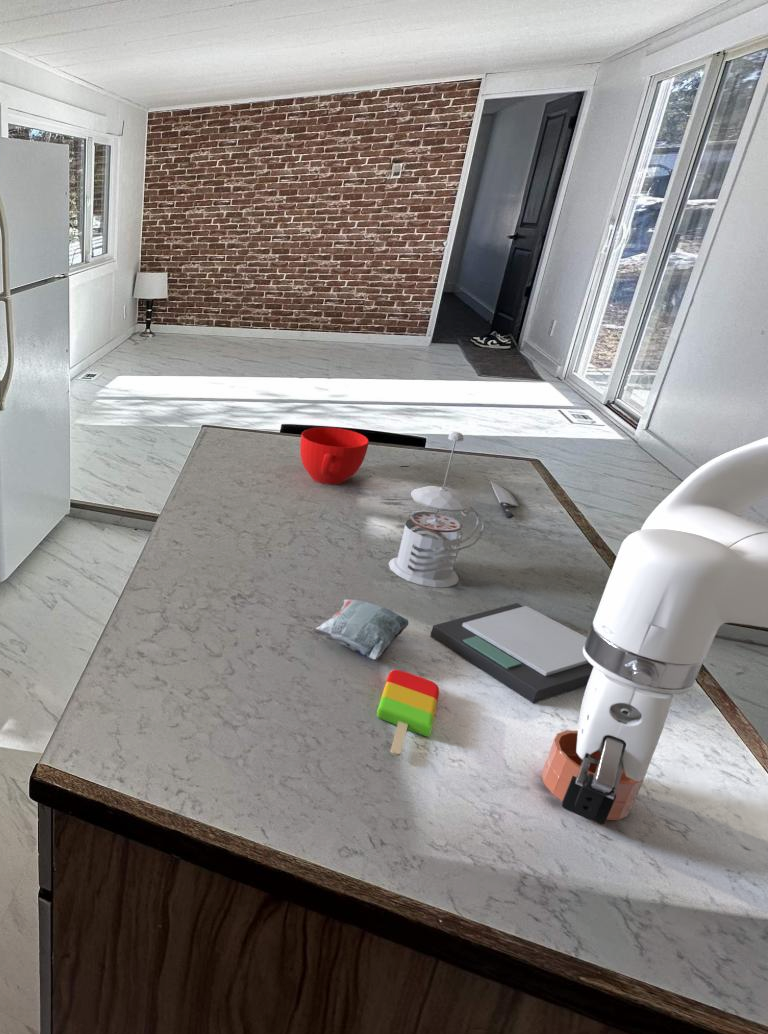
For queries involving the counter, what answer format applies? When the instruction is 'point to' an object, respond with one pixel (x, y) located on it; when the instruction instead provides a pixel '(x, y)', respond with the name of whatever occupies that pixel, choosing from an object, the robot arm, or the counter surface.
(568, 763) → the bowl
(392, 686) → the popsicle
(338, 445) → the ceramic cup
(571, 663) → the scale
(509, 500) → the chef's knife
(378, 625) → the packaged food
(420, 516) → the french press
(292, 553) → the counter surface
